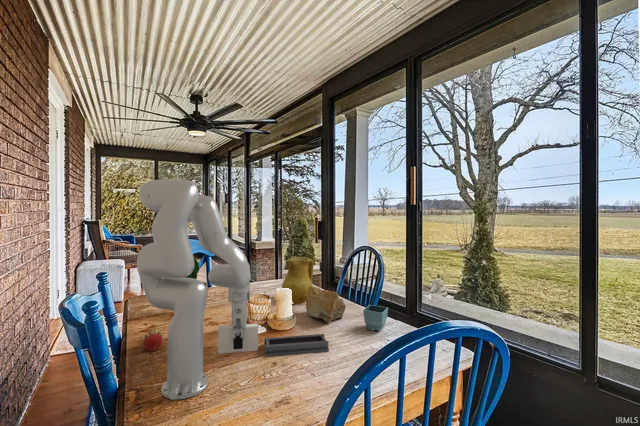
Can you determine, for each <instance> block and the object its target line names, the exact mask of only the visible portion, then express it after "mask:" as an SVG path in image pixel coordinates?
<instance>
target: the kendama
mask: <svg viewBox="0 0 640 426" xmlns="http://www.w3.org/2000/svg"><path fill="white" fill-rule="evenodd" d="M140 336H141V338H140V339H141V344H142V348H143V349H145V350H146V351H148V352H155V351H158V350H159V349H160V348H161V347H162V345H163V342H164V338H163V331H162V330H158V331H157V330H156V329H155V328H151V329H149V330H148V332H147V334H144V333H143V334H142V335H140Z"/></svg>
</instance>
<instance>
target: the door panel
mask: <svg viewBox="0 0 640 426" xmlns="http://www.w3.org/2000/svg"><path fill="white" fill-rule="evenodd" d="M240 329H241V327H240ZM217 330H218V331H217V334H218V335H217V338H218V339H217V341H218V342H217V348H218V349H217V354H218V355H219V354H228V353H229V354H232V353H246V352H256V351H259V323H247V327H246V329H245V330H244V329H242V337H243V348H242V349H233V338H234V330H233V329H232V324H228V325H227V324H226V325H219V326H218V328H217ZM240 333H241V331H240Z"/></svg>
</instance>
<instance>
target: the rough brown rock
mask: <svg viewBox="0 0 640 426" xmlns="http://www.w3.org/2000/svg"><path fill="white" fill-rule="evenodd" d="M346 307H347V306H346V303H345V302H344V299H342V298H340V295H339V294H338V293H337V291H330V290H326V289H322V290H321V288H320V287H318V286H313V285H312V286H310V287H309V291H308V297H307V299H306V304H305V309H306V313H307V315H308V316H309V317H311V318H315V319H322V320H323V321H324V323H326V324H330V323H331V322H333V321H335V320H337V319H338V318H342V319H343V317H344V313H345V311H346ZM332 320H333V321H332Z"/></svg>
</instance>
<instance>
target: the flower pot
mask: <svg viewBox="0 0 640 426" xmlns="http://www.w3.org/2000/svg"><path fill="white" fill-rule="evenodd" d="M362 311H363V319H364V323H365V326H366V328H367V330H369V329H373V330H372V331H375V330H377V331H376V332H380V331H381V330H382V329H383V328H384V326H385V324H386V322H387V320H388V311H389V307H386V306H380V305H373V304H368V305H367V306H366V307H365V308H363V310H362Z"/></svg>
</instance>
